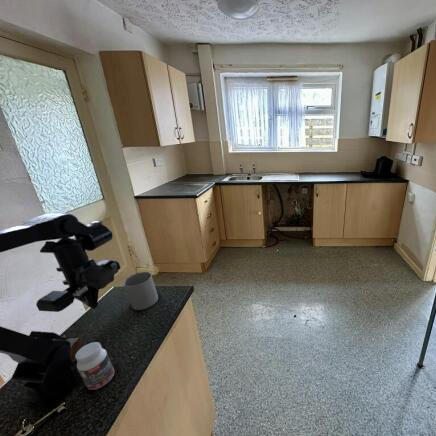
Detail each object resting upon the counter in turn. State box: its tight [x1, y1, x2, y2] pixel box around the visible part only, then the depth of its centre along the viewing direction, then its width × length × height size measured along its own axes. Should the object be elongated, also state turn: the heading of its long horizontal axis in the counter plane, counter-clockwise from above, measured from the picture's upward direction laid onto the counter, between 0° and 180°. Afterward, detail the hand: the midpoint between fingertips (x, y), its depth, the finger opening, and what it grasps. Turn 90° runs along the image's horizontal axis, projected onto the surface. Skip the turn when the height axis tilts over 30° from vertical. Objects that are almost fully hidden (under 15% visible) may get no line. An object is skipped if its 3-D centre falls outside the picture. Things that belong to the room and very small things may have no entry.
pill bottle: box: [75, 341, 115, 391], centre depth 58 cm, size 6×6×10 cm
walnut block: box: [66, 337, 84, 364], centre depth 65 cm, size 4×4×4 cm
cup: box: [123, 271, 159, 311], centre depth 84 cm, size 8×8×10 cm
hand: (94, 307), depth 67 cm, fingers closed
